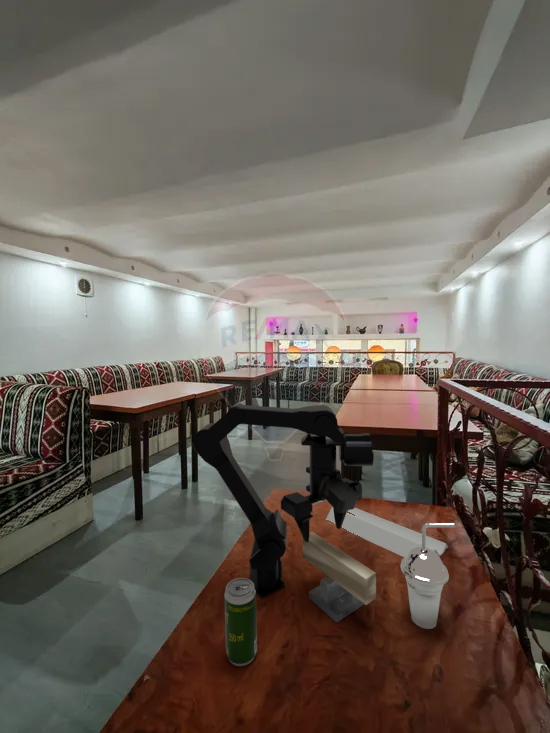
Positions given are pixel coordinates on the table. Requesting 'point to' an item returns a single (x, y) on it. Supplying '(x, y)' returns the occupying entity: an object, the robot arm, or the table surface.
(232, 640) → the beer can
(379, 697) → the table surface
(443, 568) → the cup with straw
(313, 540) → the batten
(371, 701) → the table surface
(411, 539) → the crown molding
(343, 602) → the fulcrum
